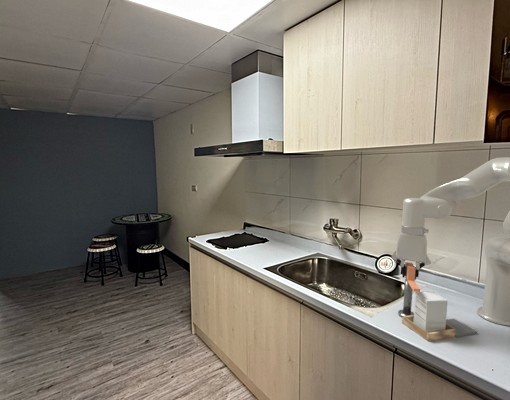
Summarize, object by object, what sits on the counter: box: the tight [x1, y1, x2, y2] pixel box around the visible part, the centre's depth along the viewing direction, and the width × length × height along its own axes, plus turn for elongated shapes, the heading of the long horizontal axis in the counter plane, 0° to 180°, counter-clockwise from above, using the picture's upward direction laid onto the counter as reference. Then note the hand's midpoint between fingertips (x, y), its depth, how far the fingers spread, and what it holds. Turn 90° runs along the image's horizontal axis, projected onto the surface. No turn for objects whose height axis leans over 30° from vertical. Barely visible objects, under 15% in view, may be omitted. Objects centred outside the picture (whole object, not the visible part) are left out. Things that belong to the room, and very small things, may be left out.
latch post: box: [397, 278, 414, 318], centre depth 112 cm, size 6×6×14 cm
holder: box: [401, 315, 456, 342], centre depth 103 cm, size 12×12×2 cm
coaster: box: [446, 318, 478, 338], centre depth 104 cm, size 9×9×1 cm
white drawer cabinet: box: [413, 291, 449, 333], centre depth 103 cm, size 7×7×13 cm
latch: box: [404, 261, 421, 293], centre depth 107 cm, size 2×14×6 cm, turn 164°
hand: (409, 276), depth 111 cm, fingers closed on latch, 3 cm apart
